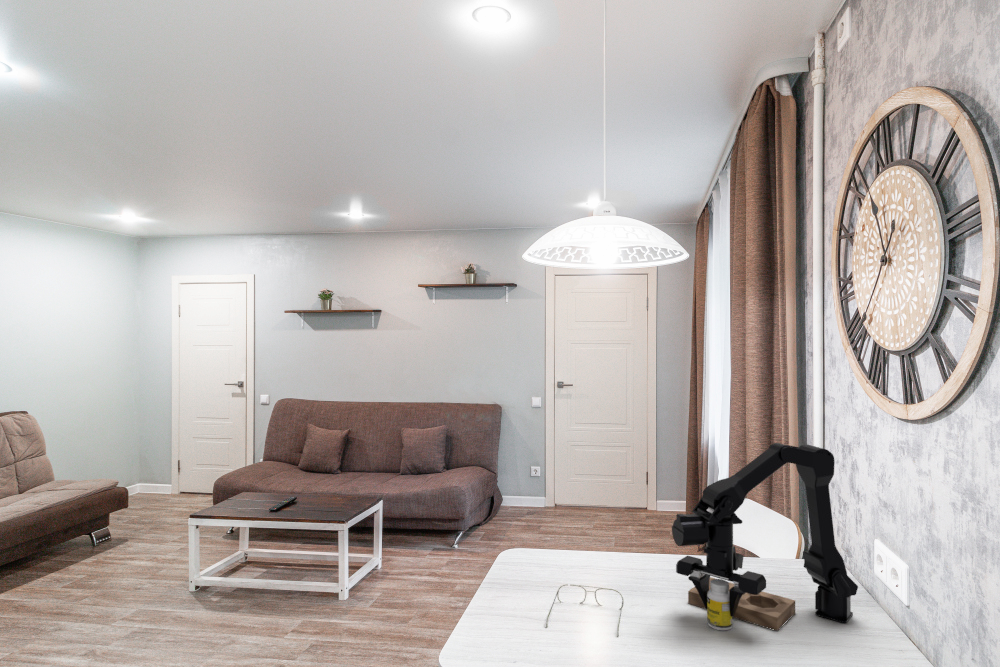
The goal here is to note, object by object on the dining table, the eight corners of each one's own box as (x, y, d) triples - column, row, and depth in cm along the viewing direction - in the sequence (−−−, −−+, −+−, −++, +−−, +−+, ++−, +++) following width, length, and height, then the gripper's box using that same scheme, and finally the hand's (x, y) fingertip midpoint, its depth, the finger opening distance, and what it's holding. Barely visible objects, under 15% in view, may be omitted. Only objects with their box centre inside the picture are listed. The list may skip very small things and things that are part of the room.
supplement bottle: (702, 621, 142) (702, 579, 142) (722, 618, 143) (722, 576, 144) (717, 632, 137) (717, 588, 137) (737, 629, 138) (737, 585, 138)
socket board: (795, 613, 146) (795, 600, 146) (777, 631, 137) (777, 617, 137) (709, 588, 160) (709, 576, 160) (688, 603, 152) (688, 591, 152)
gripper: (775, 543, 140) (775, 612, 140) (696, 526, 152) (696, 589, 152) (756, 556, 132) (756, 630, 132) (674, 537, 144) (675, 604, 144)
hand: (719, 612), depth 140 cm, fingers closed on supplement bottle, 5 cm apart
